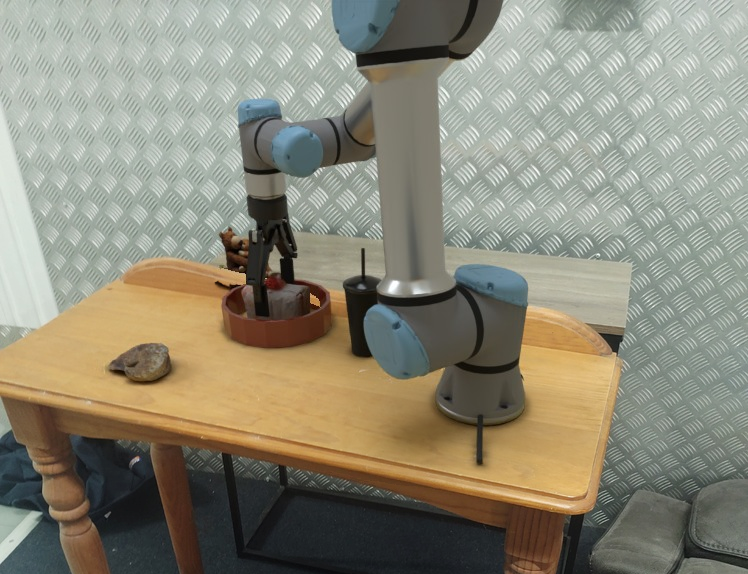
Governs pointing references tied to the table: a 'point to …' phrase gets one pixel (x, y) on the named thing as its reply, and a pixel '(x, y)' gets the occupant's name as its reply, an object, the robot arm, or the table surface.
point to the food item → (280, 300)
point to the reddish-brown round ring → (276, 321)
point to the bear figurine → (238, 253)
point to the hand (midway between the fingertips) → (276, 302)
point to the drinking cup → (360, 306)
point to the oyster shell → (144, 362)
